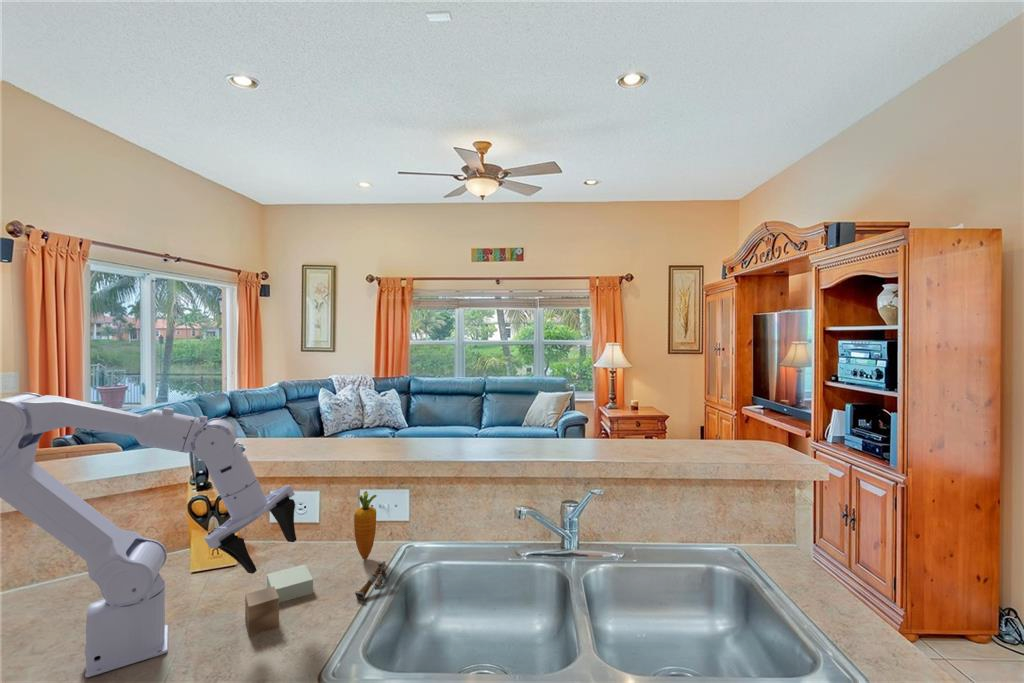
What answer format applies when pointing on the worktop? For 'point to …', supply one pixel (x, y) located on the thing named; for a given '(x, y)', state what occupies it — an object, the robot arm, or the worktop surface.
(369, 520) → the carrot
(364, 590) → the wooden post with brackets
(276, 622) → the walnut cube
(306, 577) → the base block
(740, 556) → the worktop surface
